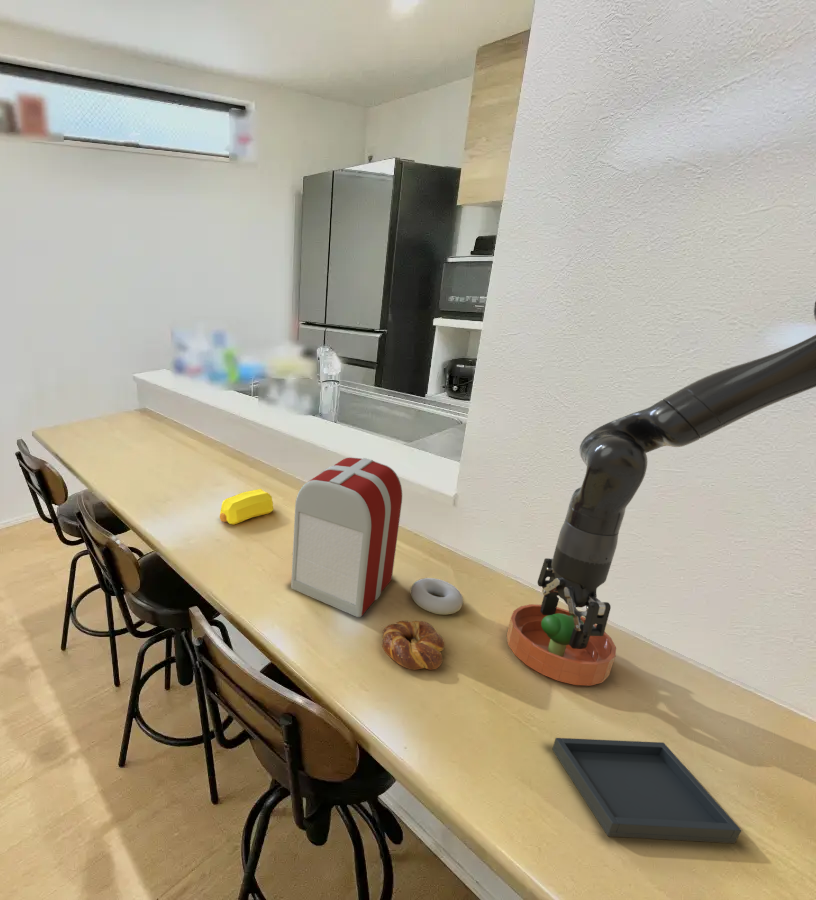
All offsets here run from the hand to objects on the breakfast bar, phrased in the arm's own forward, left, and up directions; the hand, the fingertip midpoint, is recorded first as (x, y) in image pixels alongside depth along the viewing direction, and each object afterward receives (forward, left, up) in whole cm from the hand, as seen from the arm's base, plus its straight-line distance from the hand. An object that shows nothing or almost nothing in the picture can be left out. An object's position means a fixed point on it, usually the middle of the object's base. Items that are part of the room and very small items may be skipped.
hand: (561, 629), depth 86 cm
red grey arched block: (+34, -20, -6) cm, 40 cm away
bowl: (0, 0, -5) cm, 5 cm away
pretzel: (+25, 0, -6) cm, 25 cm away
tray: (+4, +25, -5) cm, 26 cm away
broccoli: (0, 0, -5) cm, 5 cm away
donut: (+16, -14, -6) cm, 22 cm away
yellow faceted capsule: (+55, -51, -6) cm, 75 cm away
